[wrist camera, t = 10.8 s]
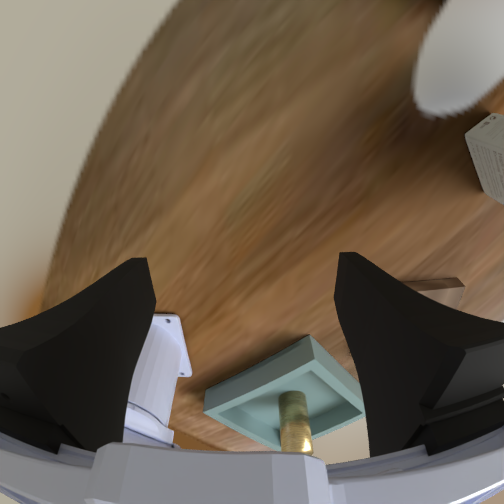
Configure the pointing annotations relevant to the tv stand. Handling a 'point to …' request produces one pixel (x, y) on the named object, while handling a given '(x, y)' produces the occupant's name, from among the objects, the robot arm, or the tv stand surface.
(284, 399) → the pin
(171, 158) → the tv stand surface
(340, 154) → the tv stand surface
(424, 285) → the collar
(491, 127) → the skincare box
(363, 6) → the tv stand surface
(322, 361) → the tray
